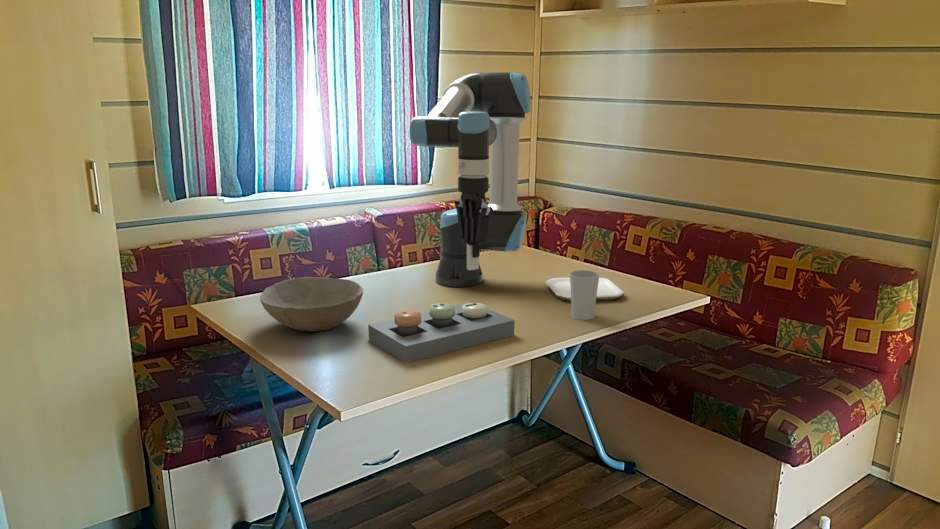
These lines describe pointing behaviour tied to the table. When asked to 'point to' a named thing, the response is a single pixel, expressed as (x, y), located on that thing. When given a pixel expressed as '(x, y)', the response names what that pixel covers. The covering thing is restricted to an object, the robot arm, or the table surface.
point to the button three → (474, 311)
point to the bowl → (312, 302)
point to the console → (440, 335)
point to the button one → (407, 322)
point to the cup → (583, 293)
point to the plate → (604, 289)
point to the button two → (442, 314)
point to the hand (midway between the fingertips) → (472, 268)
